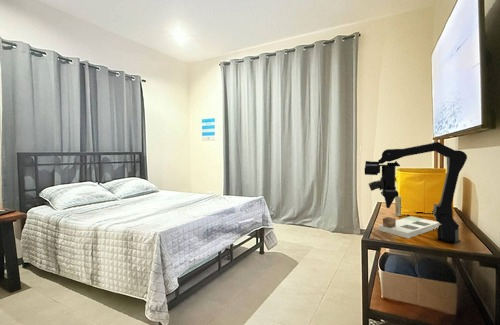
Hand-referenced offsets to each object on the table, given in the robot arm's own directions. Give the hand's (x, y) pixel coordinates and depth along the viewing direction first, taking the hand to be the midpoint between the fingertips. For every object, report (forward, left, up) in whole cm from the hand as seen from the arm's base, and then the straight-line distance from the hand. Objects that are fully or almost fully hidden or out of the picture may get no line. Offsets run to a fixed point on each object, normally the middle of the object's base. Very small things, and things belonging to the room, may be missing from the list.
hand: (387, 207), depth 121 cm
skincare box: (+14, -36, -13) cm, 41 cm away
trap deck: (-1, -15, -13) cm, 20 cm away
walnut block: (+2, -4, -10) cm, 11 cm away
